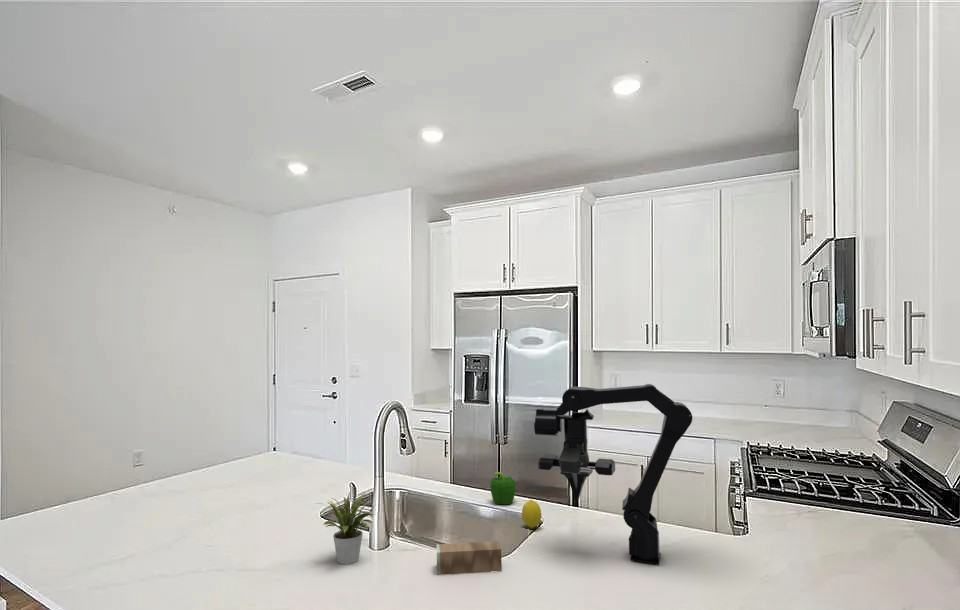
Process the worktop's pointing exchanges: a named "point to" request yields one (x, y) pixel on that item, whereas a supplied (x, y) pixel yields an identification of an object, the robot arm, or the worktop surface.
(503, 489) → the bell pepper
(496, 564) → the walnut block
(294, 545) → the worktop surface
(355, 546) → the house plant
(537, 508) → the lemon
